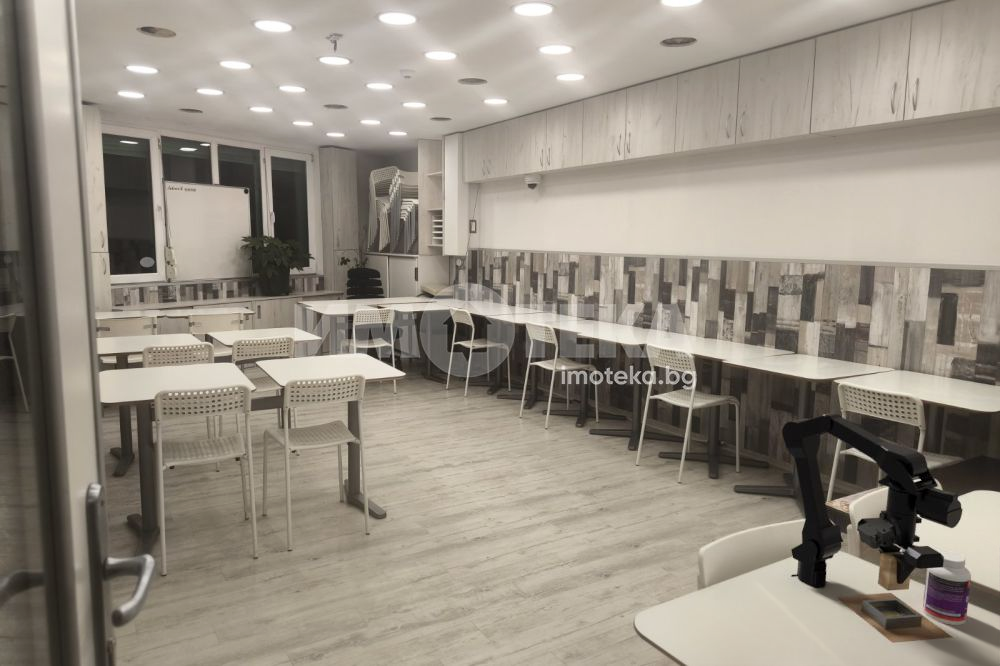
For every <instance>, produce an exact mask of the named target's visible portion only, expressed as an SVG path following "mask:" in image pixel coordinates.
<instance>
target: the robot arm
mask: <svg viewBox="0 0 1000 666" xmlns="http://www.w3.org/2000/svg"><path fill="white" fill-rule="evenodd" d="M827 433H828V434H829V435H831V436H833V437H835V438H836V439H838V440H839V441H841V442H843V443H844V444H846V445H848V446H849V447H851V448H852V449H855V450H857V451H858V452H860V453H861V454H863V455H865V456H867V457H868V458H870V459H871V460H873V461H874V462H875V463H876V465H877V466H878V469H879V470H881V471H882V472H883V473H884V474H886V476H885V477H883V478H881V479H878V481H877V483H878V485H879V484H880V485H881V486H885V487H887V488H888V489H887V499H886V505H885V506H886V507H885V510H880V512H879V515H878V516H879V517H869V518H867V517H866V518H861V519H860V520H859V521H858V522H857V527H856V530H857V532H858V533H859V534H858V535H859V539H860V541H861V543H864V544H866V545H868V546H869V548H871V549H874V550H875V549H878V552H879V555H880V556H881V553H889V552H901V554H893V556H894V558H895V559H896V560H897V583H898V584H903V583H904V581H905V580H906V579H907V578H908V576H909V575H910V576H911V573H913V571H914V570H915V569H919V570H922V569H927V568H941V567H943V563H944V557H943V555H942V554H941V553H939V552H938V550H936V549H934V548H932V547H930V546H929V545H923V546H922V545H914V543H919V542H920V538H921V537H920V536H919V535H917V534H916V531H917V530H916V529H917V524H922V523H923V522H922V521H923V520H926V521H929V522H933V523H936V524H938V525H941V526H944V527H947V528H950V529H954V528H955V527H957V525H959V522H960V521H961V519H962V516H963V508H962V503H961V502H960V500H959V494H958V493H956V492H953V491H946V490H943V489H939V488H937V487H938V486H939V485H938V482H937V480H936V479H935V477H934V476H933V473H932V472H931V470H930V468H929V467H928V461H927V460H926V456H924V454H922V453H921V452H920V451H918V450H914V449H912V448H909V447H907V446H904V445H899V444H895V443H891V442H887V441H886V440H884V439H882V438H881V437H878V436H877V435H875V434H874V433H873V434H872V433H871V432H869V431H867V430H865V429H864V428H862V427H861V426H858V425H857V424H855V423H853V422H851V421H850V420H848V419H846V418H845V417H843V416H842V415H841V414H840V413H836V412H830V413H824V414H821V415H820V416H818V417H814V418H811V419H810V418H802V419H797V420H791V421H788V422H786V423H784V425H783V427H781V436H782V439H783V443H784V446H785V448H786V449H787V451H788V453H790V455H791V456H792V457H793V459H794V463H795V468H796V475H797V479H798V485H799V489H800V495H801V501H802V508H803V511H804V517H805V519H804V520H805V521H804V523H803V526H802V530H801V543H800V544H799V545H797V546H795V547H793V548H791V554H792V559H794V560H797V572H796V573H797V574H796V573H795V574H791V575H790V577H793V578H794V577H795V578H796V577H797V579H798V581H799V582H800V583H803V584H805V585H808V586H810V587H813V589H819V588H822V589H823V588H826V584H827V583H826V581H827V566H828V565H827V564H828V563H826V561H827V560H830V559H833V558H834V557H835V554H838V553H839V551H840V550H841V549H842V543H843V542H844V539H843V537H842V533H841V527H840V524H834V523H833V522H832V521H831V519H830V518H829V515H828V511H827V504H826V499H825V494H824V488H823V484H822V479H821V473H820V467H819V463H818V456H817V455H818V453H819V449H820V446H821V435H824V434H827ZM915 479H919V480H917V481H914V480H915Z"/></svg>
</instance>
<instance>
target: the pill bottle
mask: <svg viewBox="0 0 1000 666" xmlns="http://www.w3.org/2000/svg"><path fill="white" fill-rule="evenodd" d="M937 551H938V552H939V553H941V554H942V555H943V557H944V563H943V567H941V568H926V574H925V583H924V591H923V602H922V612H923V614H925V615H926V616H928V618H930V619H932V620H935V621H938V623H939V622H940V623H942V624H947V625H952V626H953V625H954V626H958V625H959V626H960V625H964V624H965V623H966V622H967V618H968V617H967V616H968V607H969V598H970V588H971V580H972V574H971V572H970V570H969V569H968V568H967V567H966V557H964V556H963V555H962V554H960V553H958V552H955V551H951V550H945V549H939V550H937Z"/></svg>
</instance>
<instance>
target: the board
mask: <svg viewBox="0 0 1000 666" xmlns="http://www.w3.org/2000/svg"><path fill="white" fill-rule="evenodd" d="M836 598H837V599H838V600H839V601H840V602H841V603H843V604H844V605H845V606H846V607H848V608H849V609H850V610H852V611H853V612H854V613H855V614H856V615H857V616H859V618H861V619H862V620H864V621H865V622H866V623H868V625H870V626H871V627H872V628H874V629H875V630H876V631H877V632H879V634H881V635H882V636H883V637H884V638H886V639H887V640H888V641H890V642H891V643H900V642H901V643H902V642H903V643H904V642H911V641H914V642H915V641H925V640H927V641H929V640H938V639H949V638H950V639H951V638H953V635H951V634H950V633H948V632H946V630H944V629H942V628H941V627H940V626H939V625H937V624H935V623H934V622H933V621H932V620H930V619H928V618H927V617H926V616H924V615H923V614H921V613H920V612H919V611H917V610H916V609H914V608H913V607H912V606H910V605H909V604H907V603H906V602H905V601H903V600H902V599H900V598H899V597H897V596H896V595H895V594H893V592H883V593H882V592H881V593H869V594H867V593H866V594H855V595H854V594H852V595H840V596H836ZM891 598H897V599H899V600H900V601H901V602H903V603H904V604H906V605H907V606H908V607H910V608H911V609H913V610H914V611H915V612H917V613H918V614H920V615H921V616H922V621H921V627H913V628H900V629H888V630H885V629H884V628H882V627H881V626H880V625H879V624H877V623H876V622H875V621H874V620H872V619H871V618H870V617H869V616H867V615H866V614H865V613H864V612H862V611H861V610H862V601H864V600H878V599H891Z"/></svg>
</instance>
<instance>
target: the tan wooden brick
mask: <svg viewBox="0 0 1000 666" xmlns="http://www.w3.org/2000/svg"><path fill="white" fill-rule="evenodd" d="M901 552H902V551H900V552H889V553H881V555H880V561H879V570H878V579H877V584H878V585H879V586H880V587H882V588H883V589H885V590H886V591H901V590H904V591H905V590H909V589H910V580H911V574H910V575H909V576H908V578H907V579H906V580H905V581H904V583H903V584H898V583H897V560H896V559H895V558H894V556H893V554H901Z"/></svg>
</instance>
